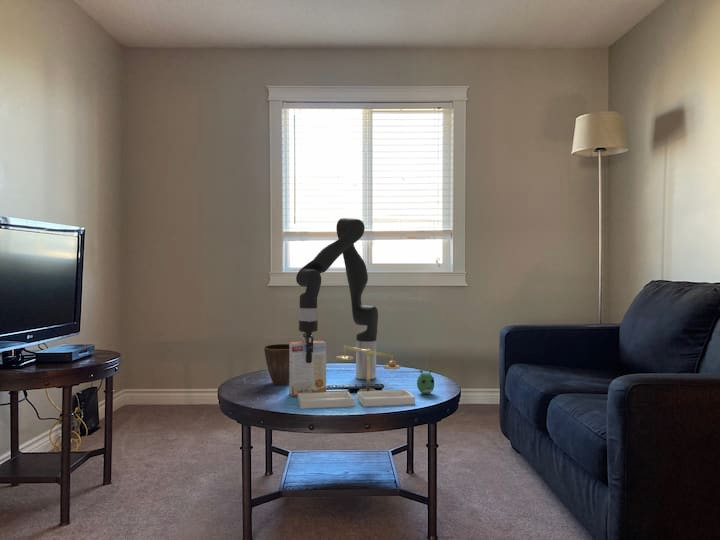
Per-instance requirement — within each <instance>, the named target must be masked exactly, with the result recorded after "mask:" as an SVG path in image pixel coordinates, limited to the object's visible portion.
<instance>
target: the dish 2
mask: <svg viewBox="0 0 720 540" xmlns="http://www.w3.org/2000/svg"><path fill="white" fill-rule="evenodd" d="M356 398H357V400H358V401H359V402H360V404H361V405H362V406H363V407H379V406H380V407H382V406H401V405H402V406H403V405H405V406H406V405H416V396H415V395H413V394H412V393H411V392H410V391H408V390H407V389H392V390H391V389H389V390H388V389H387V390H386V389H385V390H384V389H383V390H376V391H359V390H358V391H357V395H356Z"/></svg>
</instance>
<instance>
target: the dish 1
mask: <svg viewBox="0 0 720 540" xmlns="http://www.w3.org/2000/svg"><path fill="white" fill-rule="evenodd" d="M297 403H298V405H299V408H300V409H302V410H303V409H319V408H320V409H322V408H323V409H326V408H344V407H347V408H348V407H355V398H354V396H353V395H352V394H351V393H350V391H345V390H343V391H326V392H320V393H298V396H297Z"/></svg>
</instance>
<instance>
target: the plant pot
mask: <svg viewBox="0 0 720 540" xmlns="http://www.w3.org/2000/svg"><path fill="white" fill-rule="evenodd" d="M263 350H264V351H263V352H264V356H265V362H266V366H267V370H268V373H269V376H270V378H271V382H272V384H273V385H275V386H285V385H289V343H286V344H285V343H280V344H278V343H277V344H269V345H266V346H265V345H264V347H263Z"/></svg>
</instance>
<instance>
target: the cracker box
mask: <svg viewBox="0 0 720 540" xmlns="http://www.w3.org/2000/svg"><path fill="white" fill-rule="evenodd" d="M288 344H289V384H288V386H289V392H288V393H289V395H290V396H291V397H293V398H294V397H298V393H320V392H327V342H326V341H324V340H313V352H312V362H311V363H306V348H305V343H304V341H303V340H302V341H290V342H289V343H288ZM306 345H307V343H306ZM308 349H311V348H308Z"/></svg>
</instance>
